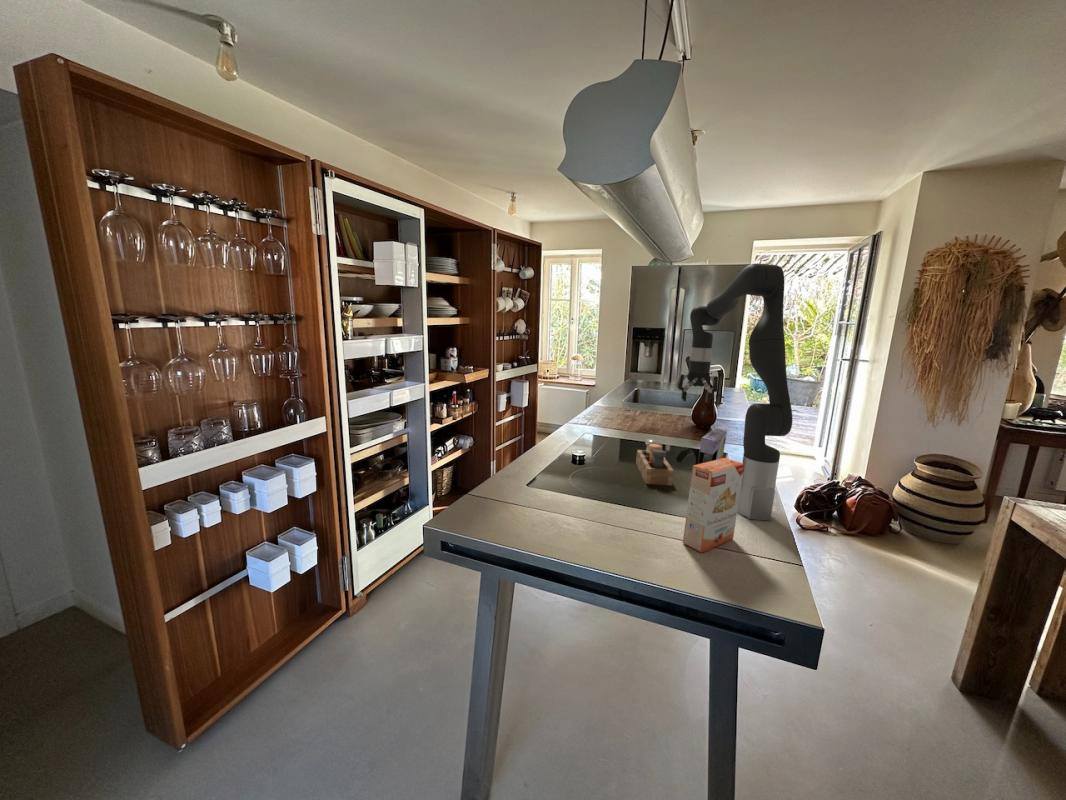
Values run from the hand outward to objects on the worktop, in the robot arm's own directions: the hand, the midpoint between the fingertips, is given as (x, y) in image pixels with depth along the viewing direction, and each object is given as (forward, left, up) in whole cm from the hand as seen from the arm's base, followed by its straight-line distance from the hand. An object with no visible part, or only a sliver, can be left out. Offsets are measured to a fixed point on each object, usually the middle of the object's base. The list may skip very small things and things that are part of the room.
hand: (695, 401), depth 162 cm
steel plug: (-6, +16, -23) cm, 28 cm away
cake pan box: (-16, -3, -26) cm, 31 cm away
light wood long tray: (-13, +16, -26) cm, 33 cm away
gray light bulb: (-20, +16, -23) cm, 34 cm away
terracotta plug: (-13, +16, -23) cm, 31 cm away
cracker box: (-62, +11, -26) cm, 68 cm away
